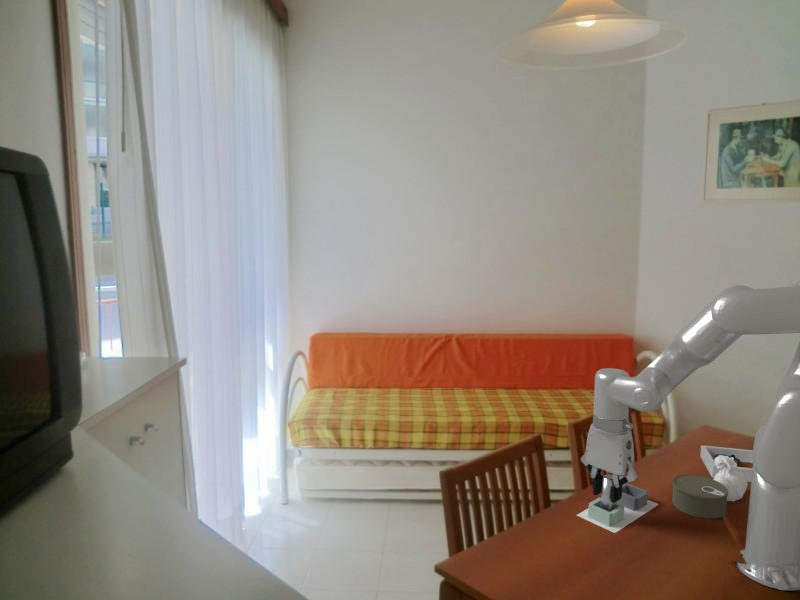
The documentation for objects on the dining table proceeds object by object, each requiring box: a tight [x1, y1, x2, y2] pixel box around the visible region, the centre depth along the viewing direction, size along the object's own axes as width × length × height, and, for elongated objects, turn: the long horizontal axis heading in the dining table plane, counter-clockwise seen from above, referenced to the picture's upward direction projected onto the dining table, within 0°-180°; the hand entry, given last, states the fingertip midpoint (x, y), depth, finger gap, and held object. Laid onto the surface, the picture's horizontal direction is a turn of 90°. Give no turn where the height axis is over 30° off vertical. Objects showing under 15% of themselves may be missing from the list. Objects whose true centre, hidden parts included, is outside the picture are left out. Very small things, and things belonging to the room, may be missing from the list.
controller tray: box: [699, 445, 753, 483], centre depth 161 cm, size 14×14×4 cm
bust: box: [712, 455, 748, 502], centre depth 147 cm, size 12×8×11 cm
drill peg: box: [600, 474, 614, 512], centre depth 133 cm, size 3×3×10 cm
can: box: [671, 474, 728, 521], centre depth 138 cm, size 12×12×7 cm
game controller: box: [713, 454, 741, 467], centre depth 162 cm, size 10×5×6 cm
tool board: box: [576, 482, 659, 534], centre depth 137 cm, size 20×10×4 cm, turn 129°
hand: (606, 496), depth 133 cm, fingers open, 4 cm apart
